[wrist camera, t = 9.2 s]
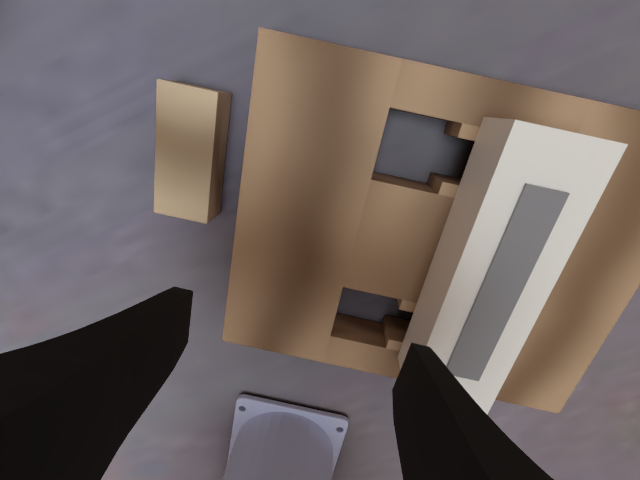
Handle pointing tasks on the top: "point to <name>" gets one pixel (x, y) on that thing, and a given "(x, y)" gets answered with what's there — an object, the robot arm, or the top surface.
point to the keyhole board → (402, 212)
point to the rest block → (190, 150)
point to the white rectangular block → (506, 246)
